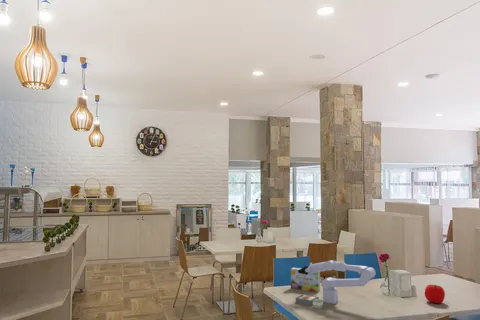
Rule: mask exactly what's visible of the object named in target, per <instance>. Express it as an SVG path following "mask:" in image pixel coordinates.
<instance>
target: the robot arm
mask: <svg viewBox="0 0 480 320" xmlns="http://www.w3.org/2000/svg"><path fill="white" fill-rule="evenodd" d="M301 268H302V269H299V270H298V273H301V274H306V275H308V272H310V273H316V272H320V273H321V272H326V271H332V270H334V271H339V272H345V271H351V272H356V273H358V275H359V276H360V277H358V278H357V277H355V278H337V277H335V278H334V277H331V276H329V277H327V278H325V279H323V280H321V281H320V286H321V287H322V300H323V303H327V304H333V305H335V304H337V303H339V290H337V289H335V288H339V287H340V288H343V287H345V288H346V287H350V288H352V287H354V288H355V287H365V286H366V285H367V284H368V283H370V282H371V281H373V280H374V279H375V276H376V274H377V273H376V272H377V271H376V269H375V268H374V267H372V266H371V267H370V266H367V265H356V264H355V265H353V264H347V263H346V262H345V261H343V260H340V261H336V260H331V259H330V260H328V261H322V262H317V263H313V262H310V263H309V265H305V266H303V267H301Z"/></svg>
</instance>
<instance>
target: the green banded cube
mask: <svg viewBox="0 0 480 320" xmlns="http://www.w3.org/2000/svg"><path fill="white" fill-rule="evenodd" d="M312 308H315V309H319V310H320V309H322V308H324V302H323V299H315V300H313V305H312Z"/></svg>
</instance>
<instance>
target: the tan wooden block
mask: <svg viewBox="0 0 480 320" xmlns="http://www.w3.org/2000/svg"><path fill="white" fill-rule="evenodd" d="M306 295H307V294H305V295H304V296H301V295H300V296H301V297H299V298H301V299H306V300H312V299H314V298H316V297H317V296H316V297H311V296H312V295H311V296H306Z"/></svg>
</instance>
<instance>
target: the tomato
mask: <svg viewBox="0 0 480 320" xmlns="http://www.w3.org/2000/svg"><path fill="white" fill-rule="evenodd" d="M445 296H446V292H445V289H444V288H443V287H442V286H441V285H438V284H437V285H436V284H428V285H427V286H425V288H424V298H425V299H426V300H427V301H428V302H430V303H434V304H441V303H443V302H444V300H445Z"/></svg>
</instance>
